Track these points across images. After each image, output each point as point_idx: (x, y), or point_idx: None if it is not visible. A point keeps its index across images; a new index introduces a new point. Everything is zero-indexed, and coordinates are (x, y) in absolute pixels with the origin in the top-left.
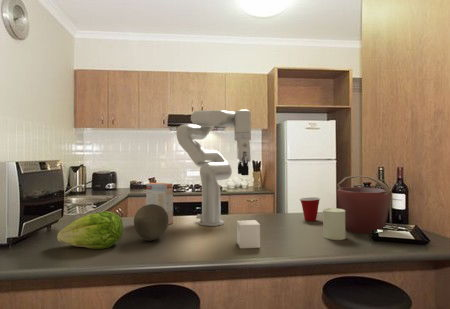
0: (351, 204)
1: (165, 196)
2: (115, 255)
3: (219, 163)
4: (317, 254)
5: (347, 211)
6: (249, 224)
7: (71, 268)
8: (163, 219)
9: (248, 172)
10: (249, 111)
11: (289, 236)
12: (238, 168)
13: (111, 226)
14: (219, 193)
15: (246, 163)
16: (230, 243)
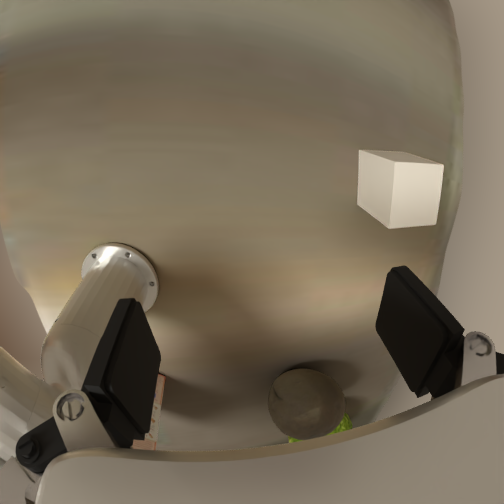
0: None
1: (156, 439)
2: (364, 383)
3: (9, 453)
4: (448, 51)
5: None
6: (437, 196)
7: (390, 394)
8: (334, 392)
9: (419, 280)
10: None
11: (308, 31)
12: (152, 405)
13: (349, 425)
14: (84, 329)
15: (500, 367)
16: (359, 222)
